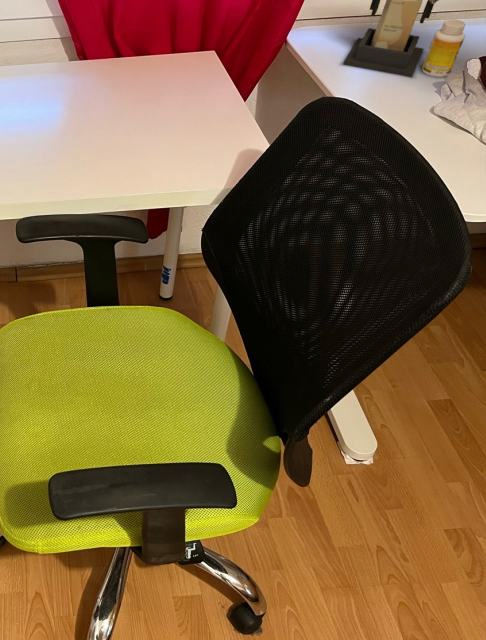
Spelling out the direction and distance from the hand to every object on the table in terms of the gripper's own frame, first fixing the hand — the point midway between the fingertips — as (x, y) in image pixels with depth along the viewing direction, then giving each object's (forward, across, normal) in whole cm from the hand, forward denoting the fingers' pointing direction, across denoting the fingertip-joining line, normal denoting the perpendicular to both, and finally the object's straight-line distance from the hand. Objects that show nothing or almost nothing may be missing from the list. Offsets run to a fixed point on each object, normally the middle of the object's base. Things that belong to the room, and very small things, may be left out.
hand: (397, 17), depth 144 cm
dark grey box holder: (+9, 0, 0) cm, 9 cm away
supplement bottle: (+9, -11, +2) cm, 14 cm away
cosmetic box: (+8, 0, 0) cm, 8 cm away
